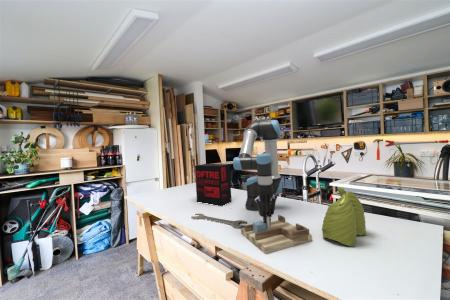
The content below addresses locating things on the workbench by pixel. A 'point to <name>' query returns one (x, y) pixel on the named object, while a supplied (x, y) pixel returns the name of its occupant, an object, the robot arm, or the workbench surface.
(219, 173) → the product box
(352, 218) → the lungs
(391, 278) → the workbench surface
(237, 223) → the wrench
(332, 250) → the workbench surface
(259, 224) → the block
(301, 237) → the tan flat ridged piece
